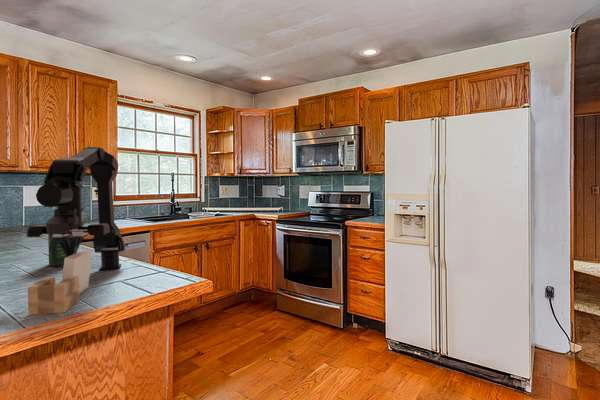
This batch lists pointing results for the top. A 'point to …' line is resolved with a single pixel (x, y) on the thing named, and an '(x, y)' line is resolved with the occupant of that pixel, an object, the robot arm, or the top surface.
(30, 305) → the oak box
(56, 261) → the coffee jar
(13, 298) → the top surface
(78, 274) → the cover plate
